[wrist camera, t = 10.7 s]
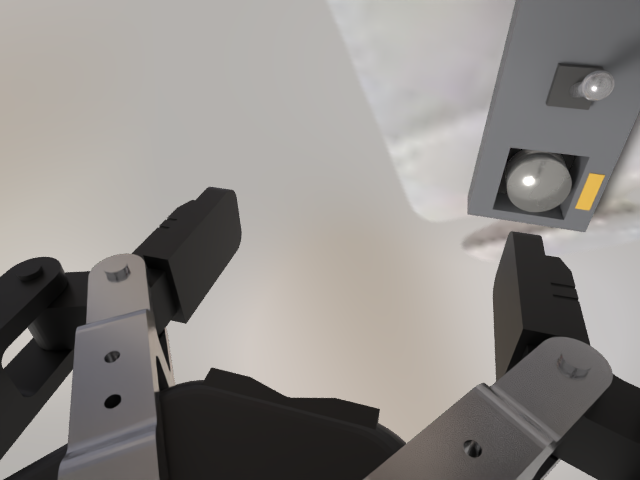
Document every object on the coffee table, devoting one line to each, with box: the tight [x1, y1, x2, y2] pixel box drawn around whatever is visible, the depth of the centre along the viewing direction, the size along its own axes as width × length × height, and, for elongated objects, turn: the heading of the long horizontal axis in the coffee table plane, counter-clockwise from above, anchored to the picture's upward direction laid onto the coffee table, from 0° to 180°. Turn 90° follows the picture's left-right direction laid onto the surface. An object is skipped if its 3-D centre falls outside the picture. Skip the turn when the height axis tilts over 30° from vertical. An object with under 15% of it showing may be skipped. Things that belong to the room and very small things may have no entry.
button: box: [505, 149, 572, 212], centre depth 34 cm, size 4×4×3 cm
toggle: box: [569, 71, 614, 101], centre depth 26 cm, size 2×2×4 cm
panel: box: [468, 0, 640, 232], centre depth 30 cm, size 22×9×4 cm, turn 179°
